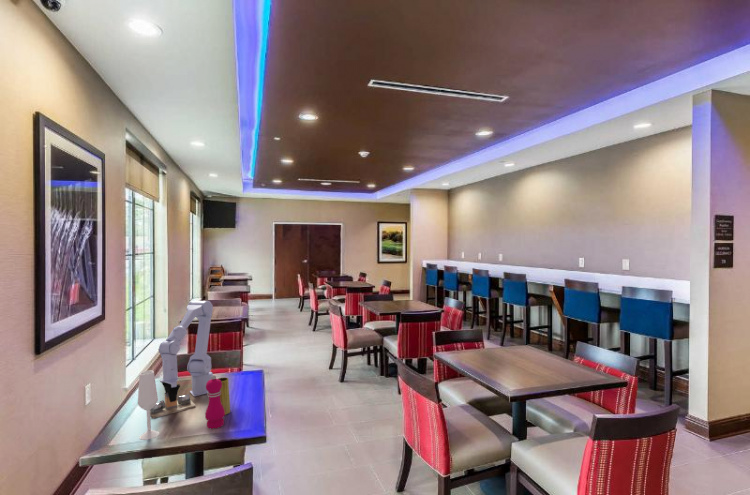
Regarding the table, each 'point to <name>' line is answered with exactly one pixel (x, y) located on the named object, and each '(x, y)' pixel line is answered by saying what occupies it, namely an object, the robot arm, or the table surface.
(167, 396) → the orange rectangular block
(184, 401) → the shaft
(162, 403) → the shaft
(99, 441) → the table surface
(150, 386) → the champagne flute
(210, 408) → the pepper mill
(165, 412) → the plate
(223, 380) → the vase
